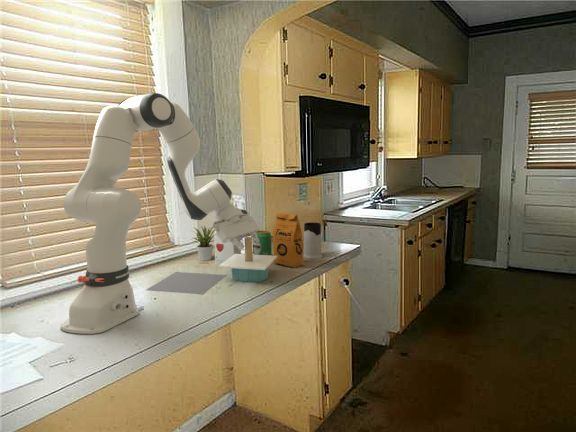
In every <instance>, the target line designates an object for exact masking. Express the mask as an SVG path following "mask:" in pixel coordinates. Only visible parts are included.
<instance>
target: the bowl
mask: <svg viewBox="0 0 576 432" xmlns="http://www.w3.org/2000/svg"><path fill="white" fill-rule="evenodd" d="M268 277H269V266H268V267H267V268H266V269H265V270H254V269H236V268H230V278H231V279H232V280H234V281H237V282H247V283H248V282H249V283H250V282H253V283H259V282H262V281H266V279H268Z"/></svg>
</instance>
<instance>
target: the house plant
mask: <svg viewBox="0 0 576 432" xmlns="http://www.w3.org/2000/svg"><path fill="white" fill-rule="evenodd" d="M193 228H194V230H195V231H196V232H195V231H193V230H192V232H194V233H195V234H196V237H193V239H194V240H193V241H191V242H192V243H193V242H194V243H197V244H198V245H196V248H197V253H198V259H199V260H200V261H203V262H204V261H210V260H212V255H213V247H214V246H213V244H212V243H211V242H213V239H214V232H215V231H216V230H215V228H214V227H213V226H211V227H210V228H208V229H207V227H206V226H205V225H203V227H201V230H202V232H203V234H202V233H201V231H200V230H199V229H198V228H197V227H193ZM212 230H213V231H212ZM210 243H211V244H210Z"/></svg>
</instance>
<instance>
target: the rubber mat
mask: <svg viewBox="0 0 576 432" xmlns="http://www.w3.org/2000/svg"><path fill="white" fill-rule="evenodd" d="M226 276H227V274H215V273H214V274H213V273H197V272H182V271H181V272H180V271H175V272H173V273H171V274H170V275H168V276H166V277H165V278H163V279H162V280H159V281H158V282H156V283H155V284H153V285H151V286H150V287H148V288H146V289H145V291H151V292H152V291H154V292H165V293H166V292H167V293H180V294H190V295H194V294H195V295H204V294H205V293H207V292H208V291H209V290H210V289H212V288H213V287H214V286H215V285H217V284H218V283H220V281H222V280H223V279H224V278H225V277H226Z"/></svg>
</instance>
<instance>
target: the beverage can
mask: <svg viewBox="0 0 576 432" xmlns="http://www.w3.org/2000/svg"><path fill="white" fill-rule="evenodd" d="M256 234H257V238H258V240H259V243H258V244H254V243H253V255H271V256H273V254H272V251H273V250H272V234H271V232H270V231H269V230H259V231H258V232H257V233H256Z"/></svg>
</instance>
